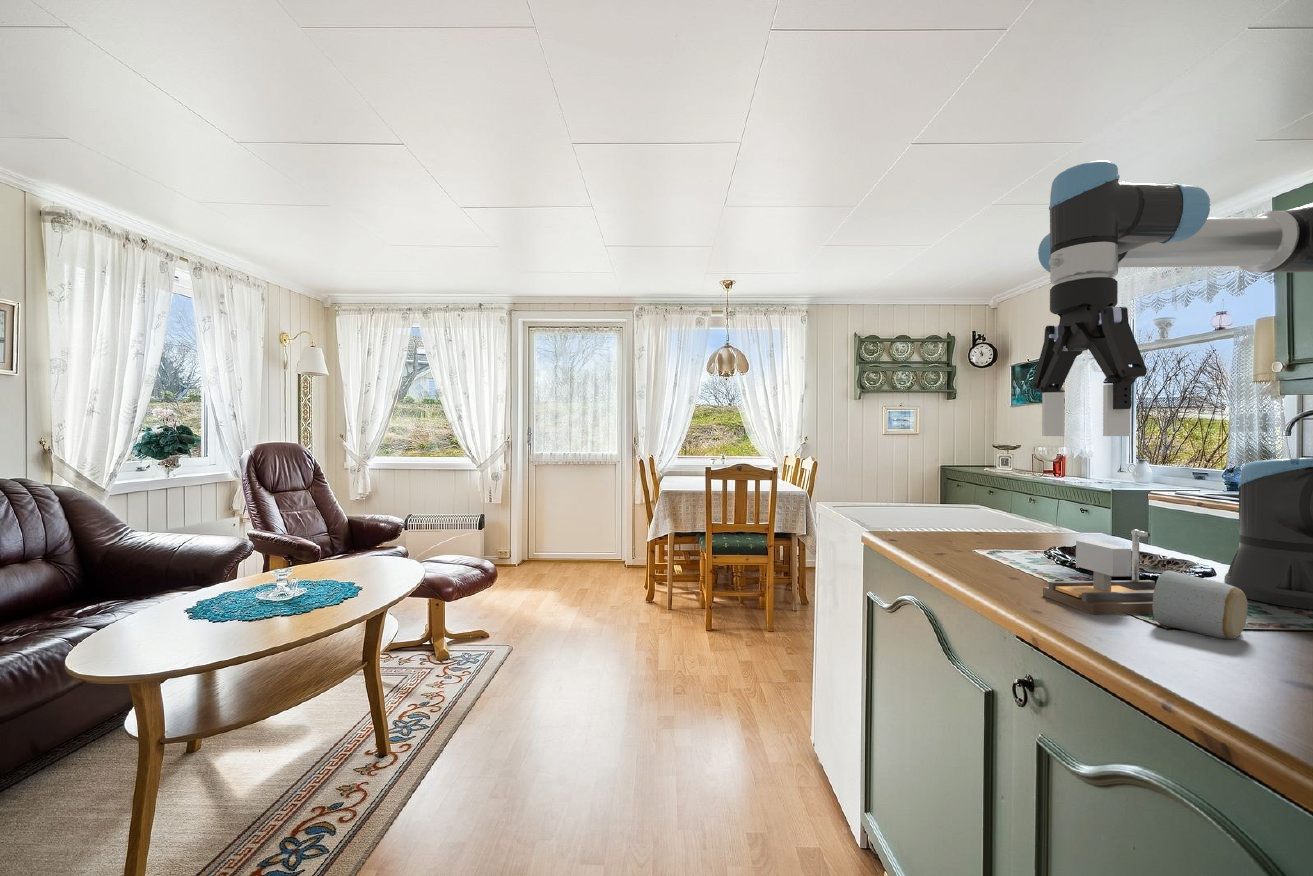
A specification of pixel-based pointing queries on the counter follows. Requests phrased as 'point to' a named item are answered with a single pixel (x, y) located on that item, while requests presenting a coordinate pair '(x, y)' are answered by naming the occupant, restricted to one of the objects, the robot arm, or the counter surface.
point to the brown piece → (1107, 597)
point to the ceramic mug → (1199, 605)
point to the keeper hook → (1136, 551)
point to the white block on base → (1101, 566)
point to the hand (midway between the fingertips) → (1082, 436)
